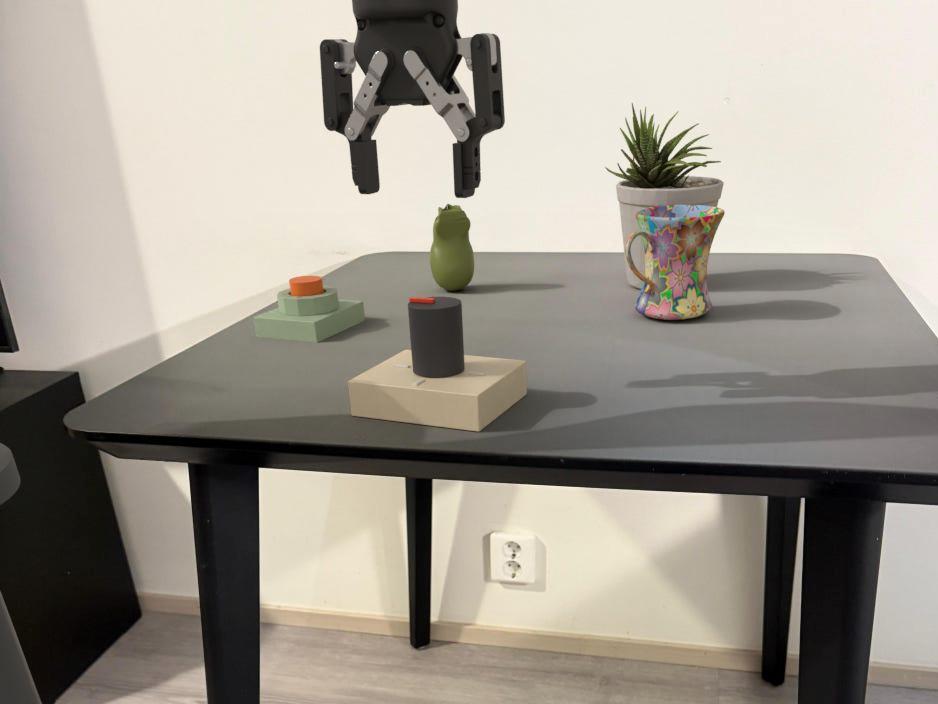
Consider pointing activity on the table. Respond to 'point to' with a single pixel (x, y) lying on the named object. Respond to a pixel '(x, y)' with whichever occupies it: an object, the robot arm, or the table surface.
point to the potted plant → (658, 182)
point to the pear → (451, 249)
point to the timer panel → (439, 392)
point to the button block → (309, 316)
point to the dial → (436, 336)
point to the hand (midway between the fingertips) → (416, 195)
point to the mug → (674, 259)
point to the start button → (306, 286)
